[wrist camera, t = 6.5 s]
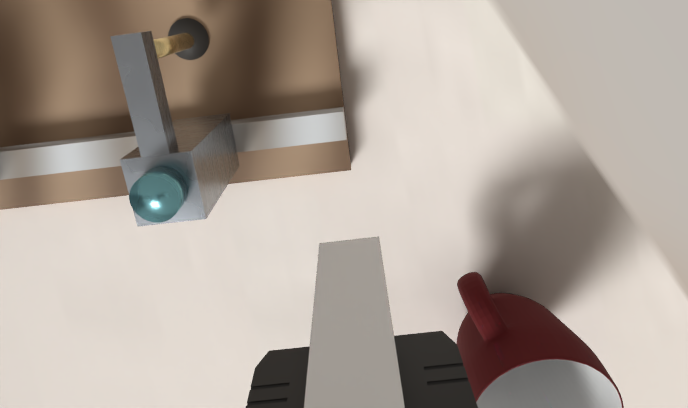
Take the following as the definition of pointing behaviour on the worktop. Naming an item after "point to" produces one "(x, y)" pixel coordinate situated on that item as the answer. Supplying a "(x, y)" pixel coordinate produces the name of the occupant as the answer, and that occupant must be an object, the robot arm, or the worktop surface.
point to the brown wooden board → (180, 86)
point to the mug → (526, 355)
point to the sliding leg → (169, 139)
